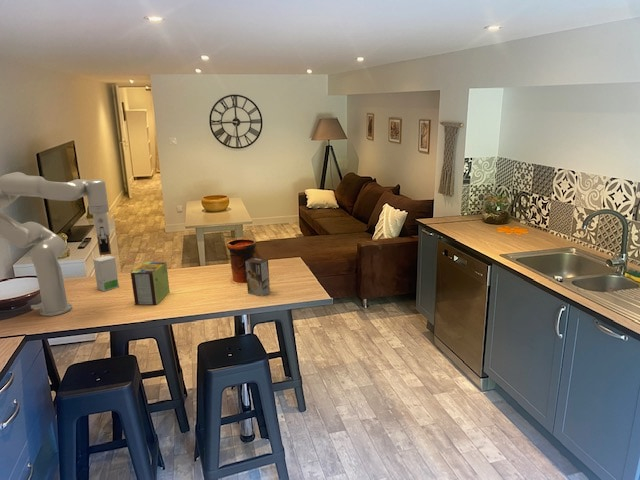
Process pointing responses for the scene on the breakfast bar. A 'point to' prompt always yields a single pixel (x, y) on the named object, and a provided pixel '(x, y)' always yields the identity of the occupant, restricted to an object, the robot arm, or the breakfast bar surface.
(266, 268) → the coffee box
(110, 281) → the skincare box
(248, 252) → the vessel
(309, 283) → the breakfast bar surface
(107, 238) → the walnut block
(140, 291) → the protein box
